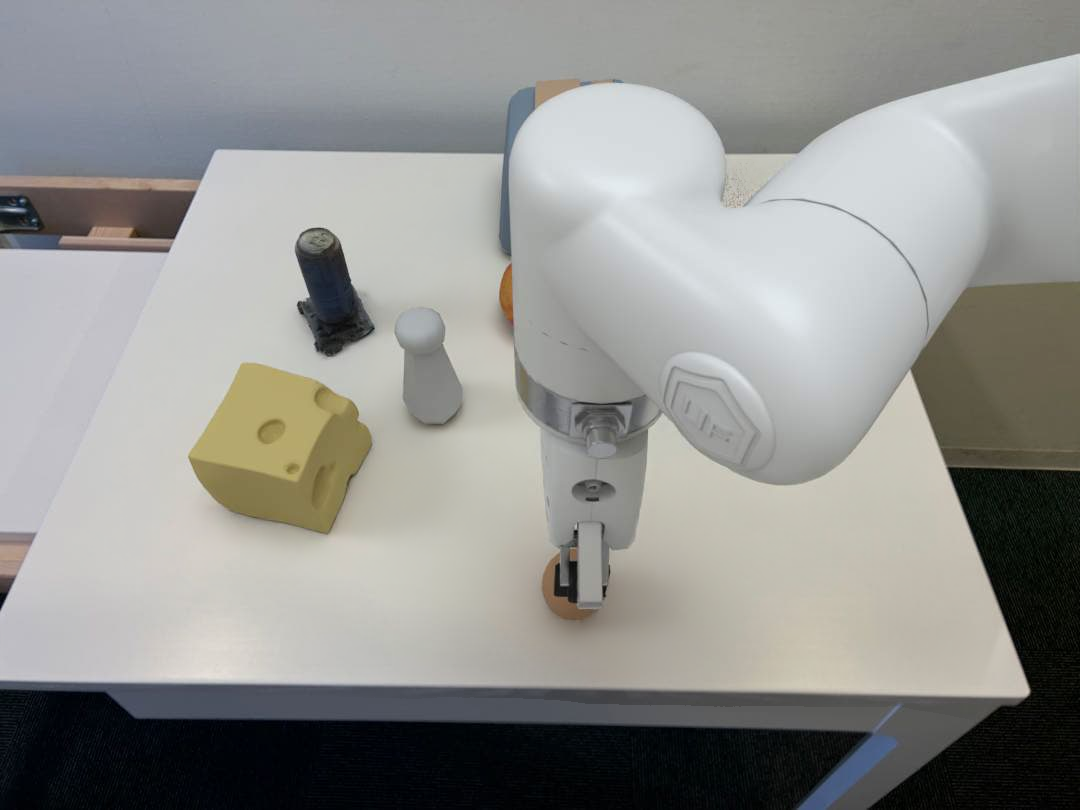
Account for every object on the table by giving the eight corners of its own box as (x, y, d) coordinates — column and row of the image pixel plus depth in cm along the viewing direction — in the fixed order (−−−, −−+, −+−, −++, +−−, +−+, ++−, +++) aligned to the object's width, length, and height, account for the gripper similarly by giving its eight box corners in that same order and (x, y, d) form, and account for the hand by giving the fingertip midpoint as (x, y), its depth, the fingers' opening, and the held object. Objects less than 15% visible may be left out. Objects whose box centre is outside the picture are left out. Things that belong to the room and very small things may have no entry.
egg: (596, 567, 60) (603, 527, 54) (609, 627, 57) (617, 591, 51) (537, 576, 60) (536, 537, 53) (547, 637, 57) (547, 602, 50)
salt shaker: (398, 425, 69) (372, 338, 58) (418, 380, 72) (397, 290, 61) (455, 437, 68) (439, 351, 57) (472, 391, 71) (460, 302, 61)
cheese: (375, 443, 68) (352, 380, 59) (328, 543, 62) (296, 488, 53) (277, 421, 69) (241, 357, 61) (222, 516, 63) (175, 459, 55)
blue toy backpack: (637, 263, 82) (655, 143, 69) (499, 263, 82) (491, 143, 69) (627, 176, 92) (641, 57, 79) (503, 176, 92) (497, 57, 79)
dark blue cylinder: (387, 328, 76) (365, 243, 67) (324, 362, 74) (291, 279, 64) (346, 282, 80) (319, 196, 71) (285, 312, 78) (248, 228, 68)
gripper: (700, 532, 28) (644, 653, 42) (655, 237, 38) (622, 415, 52) (511, 532, 28) (518, 654, 42) (516, 237, 38) (521, 415, 52)
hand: (576, 521), depth 47 cm, fingers open, 9 cm apart
